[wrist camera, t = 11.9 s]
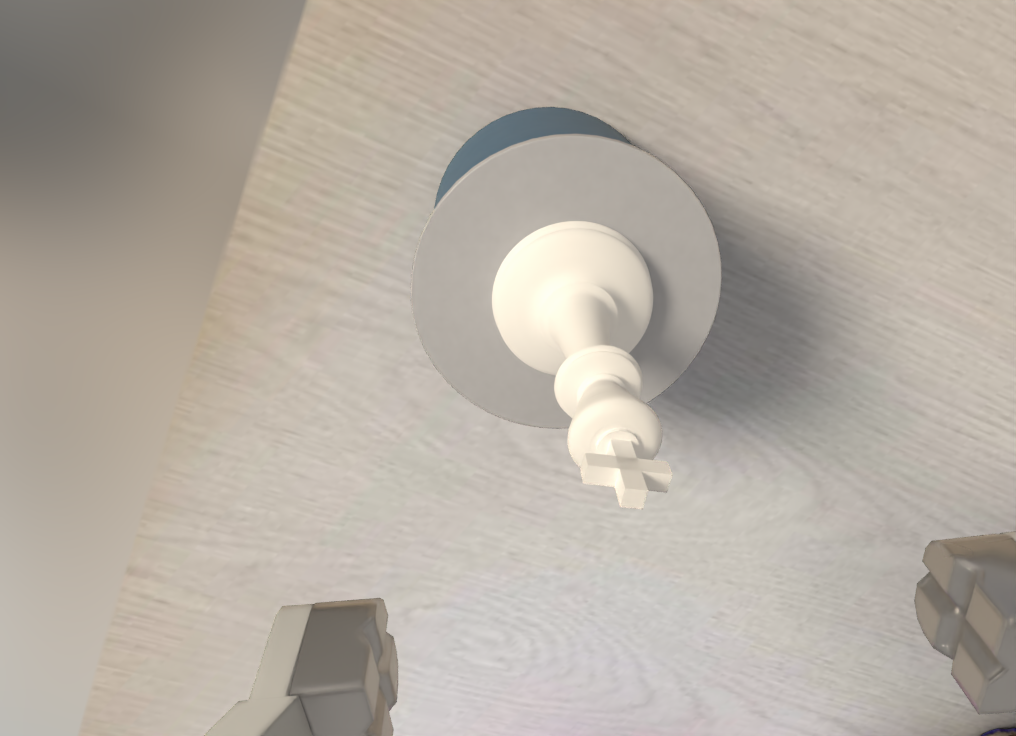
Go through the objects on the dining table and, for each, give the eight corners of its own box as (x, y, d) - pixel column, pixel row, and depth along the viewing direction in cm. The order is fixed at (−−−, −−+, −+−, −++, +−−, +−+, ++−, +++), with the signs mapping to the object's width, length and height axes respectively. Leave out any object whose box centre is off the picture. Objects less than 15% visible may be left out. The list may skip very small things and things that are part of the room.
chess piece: (630, 378, 24) (721, 607, 15) (481, 359, 23) (484, 585, 14) (669, 232, 22) (803, 401, 13) (505, 208, 21) (526, 366, 12)
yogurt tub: (482, 54, 27) (485, 76, 19) (707, 161, 29) (783, 217, 22) (392, 282, 30) (367, 370, 23) (596, 361, 33) (629, 465, 25)
